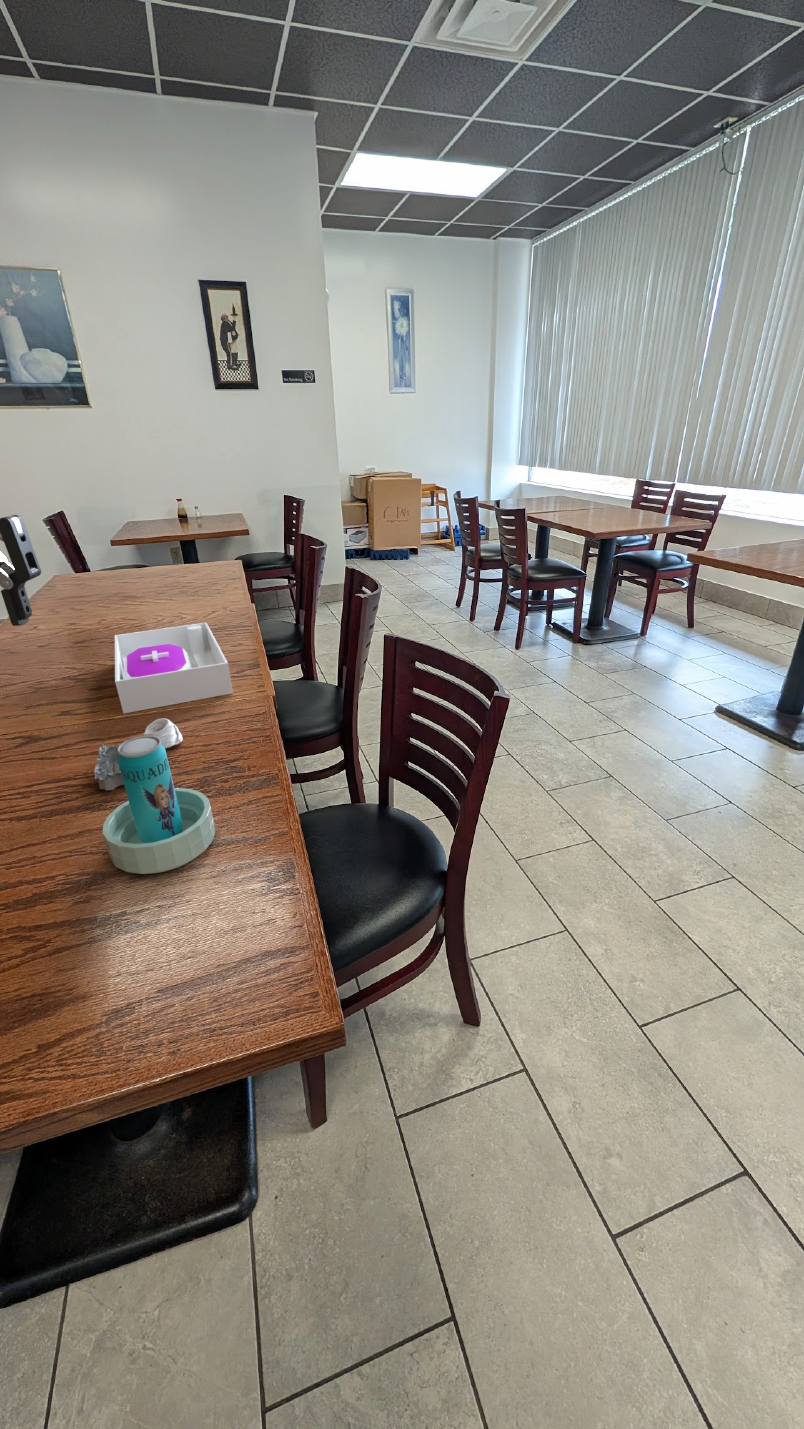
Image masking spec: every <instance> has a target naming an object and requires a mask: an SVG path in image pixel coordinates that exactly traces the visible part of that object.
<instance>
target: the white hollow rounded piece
mask: <svg viewBox="0 0 804 1429" xmlns="http://www.w3.org/2000/svg"><path fill="white" fill-rule="evenodd" d="M143 736H155V737H158V738H159V739H160V740H161V745H162V746H163V747H164V748H165V749H169V748H172V747H173V746H177V745H180V744H181V743H182V742H183V740H184V739H183V735H182V733H181V731H180V730H179V728H178V726H177V725H176V724H174V723H173V722H172V721H171V720H170V719H168V718H166V717H165V718H157V719H155V720H153V721H152V722H151V723H149V724H148V725H147V726H146V728H145V730H144V733H143Z"/></svg>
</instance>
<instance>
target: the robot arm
mask: <svg viewBox="0 0 804 1429" xmlns="http://www.w3.org/2000/svg"><path fill="white" fill-rule="evenodd" d="M0 541H1V542H3V544H4V546H5V548H6V552H7V554H8V557H9V559H10V562H11V563H10V562H9V561H8V558H7V556H6V555H4V554H3V553H2V552H1V551H0V587H1V588H2V589H1V590H0V593H1V596H2V600H3V603H4V605H5V609H6V612H7V614H8V618H9V621H10V624H11V625H12V626H13V627H18V626H19V627H21V626H23V625H25V624H27V623H28V622H29V621H30V617H32V614H33V610H32V609H33V608H32V606H31V603H30V600H29V597H28V594H27V590H26V587H25V585H26V583H27V582H28V581H31V580H33V579H35V578H37V577H39V576H41V574H42V569H41V566H40V563H39V561H38V557H37V555H36V552H35V549H34V547H33V544H32V541H31V538H30V536H29V534H28V530H27V527H26V525H25V522H24V519H23V518H22V516H20V515H18V514H11V515H8V516H3V517H0Z"/></svg>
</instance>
